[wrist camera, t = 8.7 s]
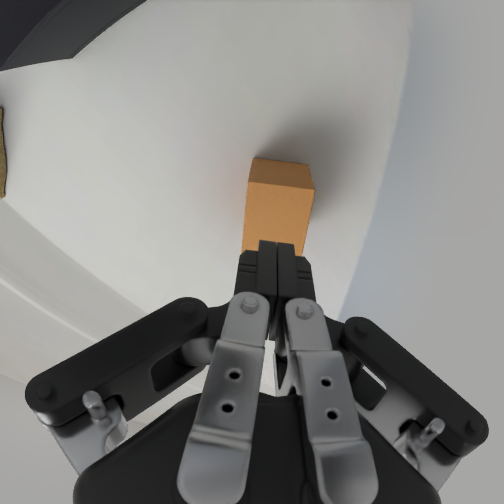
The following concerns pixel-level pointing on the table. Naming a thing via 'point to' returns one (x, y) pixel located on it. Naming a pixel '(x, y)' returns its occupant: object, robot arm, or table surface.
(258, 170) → the cardboard box
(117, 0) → the black drawer cabinet
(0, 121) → the rock
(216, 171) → the table surface
